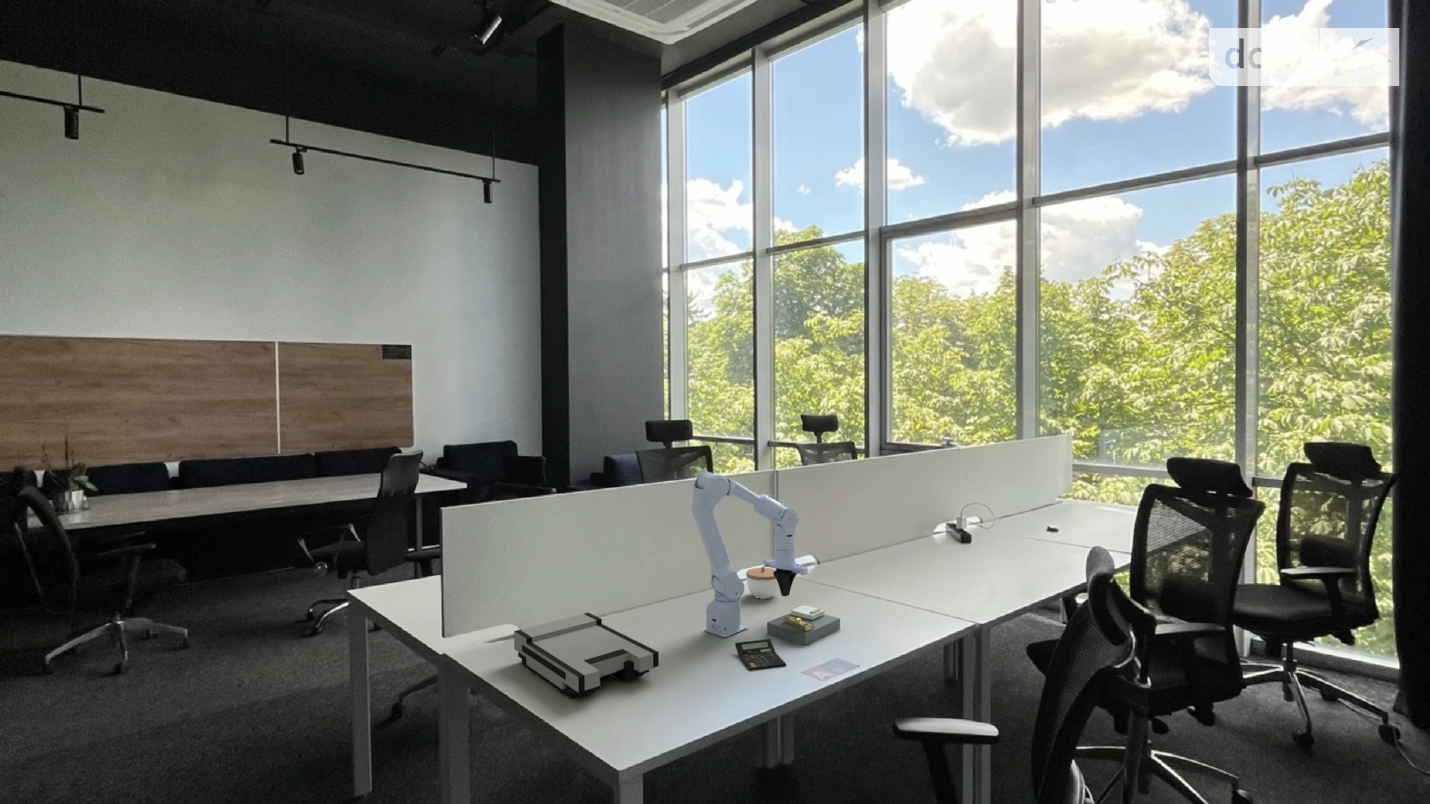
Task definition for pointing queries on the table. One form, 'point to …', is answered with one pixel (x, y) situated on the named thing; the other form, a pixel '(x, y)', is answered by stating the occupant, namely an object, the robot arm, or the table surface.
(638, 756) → the table surface
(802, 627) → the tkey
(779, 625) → the grey flat block
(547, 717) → the table surface
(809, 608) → the hatch cover
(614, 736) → the table surface
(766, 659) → the calculator
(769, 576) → the lidded jar
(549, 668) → the game console
